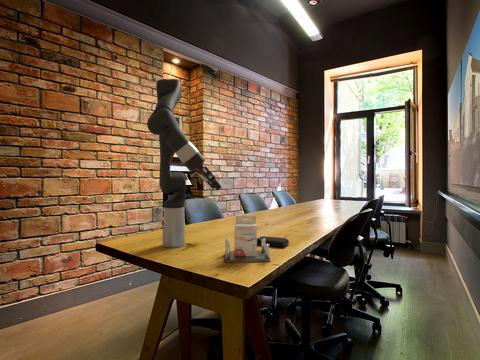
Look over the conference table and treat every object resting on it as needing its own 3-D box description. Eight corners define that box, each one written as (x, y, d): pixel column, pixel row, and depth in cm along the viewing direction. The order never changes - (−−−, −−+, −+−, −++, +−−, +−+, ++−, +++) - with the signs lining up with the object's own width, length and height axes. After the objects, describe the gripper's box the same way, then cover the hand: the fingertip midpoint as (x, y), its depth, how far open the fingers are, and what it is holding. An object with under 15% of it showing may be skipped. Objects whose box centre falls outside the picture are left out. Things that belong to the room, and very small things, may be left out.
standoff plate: (225, 262, 101) (225, 246, 101) (224, 253, 113) (224, 239, 112) (270, 261, 102) (270, 245, 102) (265, 252, 114) (265, 238, 113)
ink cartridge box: (234, 256, 105) (233, 217, 105) (234, 253, 110) (234, 215, 110) (257, 256, 105) (256, 217, 105) (256, 252, 110) (256, 215, 110)
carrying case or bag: (290, 244, 130) (261, 241, 136) (290, 237, 130) (261, 234, 136) (284, 249, 120) (252, 246, 126) (283, 242, 120) (252, 239, 126)
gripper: (200, 149, 101) (228, 183, 105) (195, 151, 115) (220, 181, 118) (184, 162, 99) (213, 196, 103) (180, 163, 113) (206, 193, 117)
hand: (217, 188), depth 111 cm, fingers open, 8 cm apart
